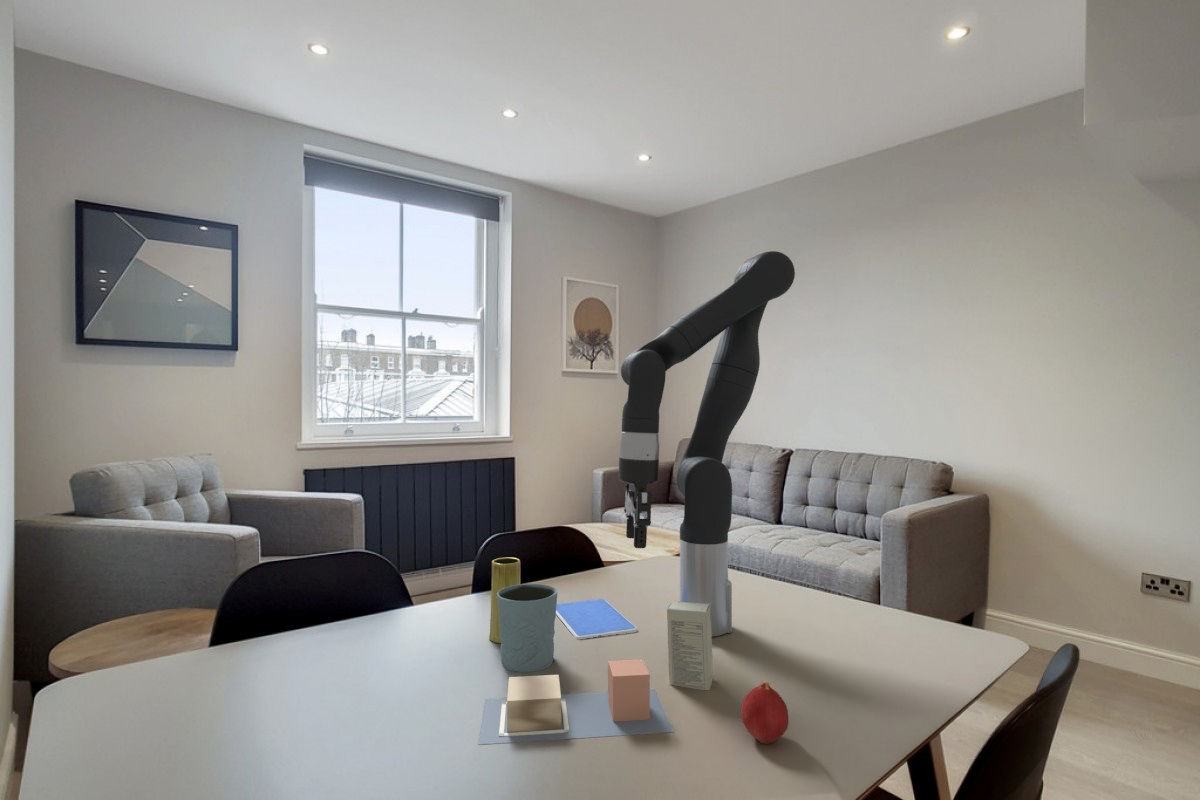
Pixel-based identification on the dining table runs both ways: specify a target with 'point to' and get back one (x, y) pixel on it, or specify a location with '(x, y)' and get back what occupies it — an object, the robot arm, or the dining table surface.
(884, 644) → the dining table surface
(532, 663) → the grey-green pot
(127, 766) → the dining table surface
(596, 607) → the tablet computer
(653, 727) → the board
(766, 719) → the onion
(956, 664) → the dining table surface
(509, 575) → the vase
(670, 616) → the skincare box
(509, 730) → the oak base block
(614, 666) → the terracotta block
